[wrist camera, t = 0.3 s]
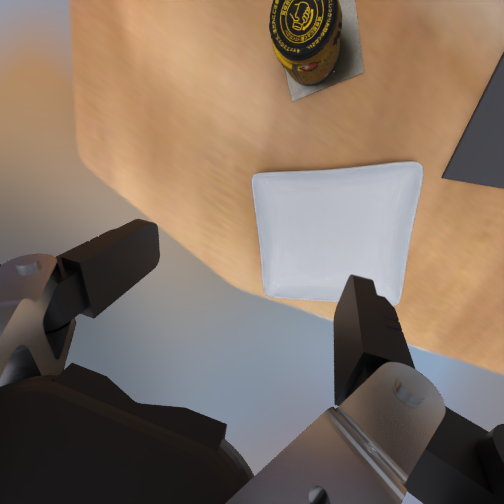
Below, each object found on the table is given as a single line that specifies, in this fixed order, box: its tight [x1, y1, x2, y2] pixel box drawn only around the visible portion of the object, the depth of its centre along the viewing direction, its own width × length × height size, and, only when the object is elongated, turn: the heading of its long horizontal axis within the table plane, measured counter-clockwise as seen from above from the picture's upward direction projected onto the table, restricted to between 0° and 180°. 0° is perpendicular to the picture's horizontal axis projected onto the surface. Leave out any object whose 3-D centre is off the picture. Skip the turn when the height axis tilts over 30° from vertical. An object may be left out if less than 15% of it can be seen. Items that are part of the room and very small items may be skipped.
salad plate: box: [251, 161, 423, 306], centre depth 37 cm, size 21×21×3 cm
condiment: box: [269, 0, 364, 101], centre depth 24 cm, size 7×8×12 cm
